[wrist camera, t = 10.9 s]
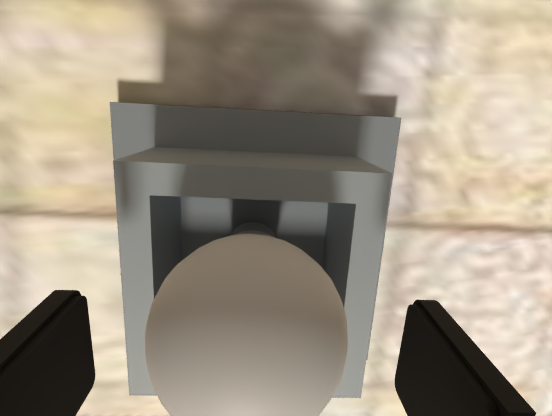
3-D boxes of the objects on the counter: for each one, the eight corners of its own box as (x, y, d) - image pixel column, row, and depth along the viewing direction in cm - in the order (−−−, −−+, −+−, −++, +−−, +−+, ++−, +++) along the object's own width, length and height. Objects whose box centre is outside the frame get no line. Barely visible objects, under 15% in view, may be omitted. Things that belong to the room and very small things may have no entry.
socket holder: (118, 102, 18) (48, 98, 12) (393, 117, 18) (455, 120, 12) (133, 344, 21) (85, 432, 15) (362, 349, 22) (398, 434, 16)
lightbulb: (334, 225, 19) (430, 381, 8) (268, 309, 20) (275, 540, 9) (237, 159, 17) (200, 240, 7) (173, 253, 19) (60, 444, 8)
